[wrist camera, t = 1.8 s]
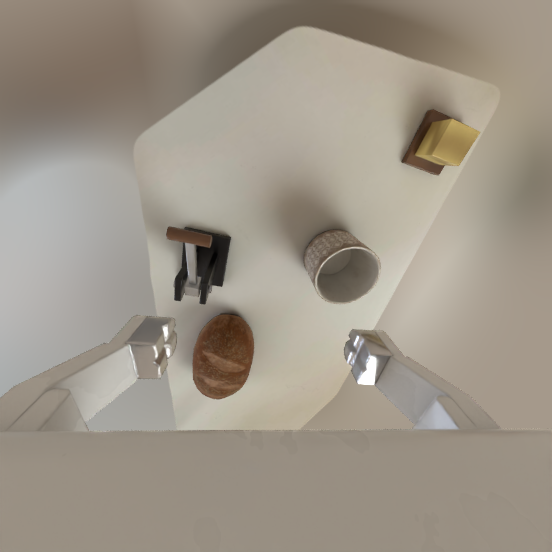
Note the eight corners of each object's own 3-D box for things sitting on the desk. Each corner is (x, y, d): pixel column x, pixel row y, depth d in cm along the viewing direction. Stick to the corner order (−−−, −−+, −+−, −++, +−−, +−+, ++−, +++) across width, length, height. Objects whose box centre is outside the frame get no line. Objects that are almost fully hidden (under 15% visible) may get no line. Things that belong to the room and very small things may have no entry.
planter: (310, 284, 50) (322, 312, 41) (296, 240, 44) (307, 261, 35) (359, 267, 49) (382, 291, 40) (352, 219, 43) (378, 235, 34)
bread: (260, 313, 54) (262, 348, 44) (243, 379, 68) (242, 416, 58) (199, 307, 50) (186, 343, 41) (195, 377, 64) (185, 416, 55)
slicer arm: (170, 221, 24) (164, 235, 23) (213, 230, 26) (209, 244, 24) (180, 281, 36) (176, 293, 34) (209, 286, 37) (207, 298, 35)
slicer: (185, 226, 40) (160, 253, 29) (231, 237, 42) (224, 265, 31) (182, 277, 46) (161, 315, 35) (222, 284, 48) (214, 322, 37)
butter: (427, 110, 34) (454, 103, 30) (462, 126, 36) (492, 122, 32) (401, 162, 38) (421, 163, 34) (434, 174, 40) (457, 177, 35)
